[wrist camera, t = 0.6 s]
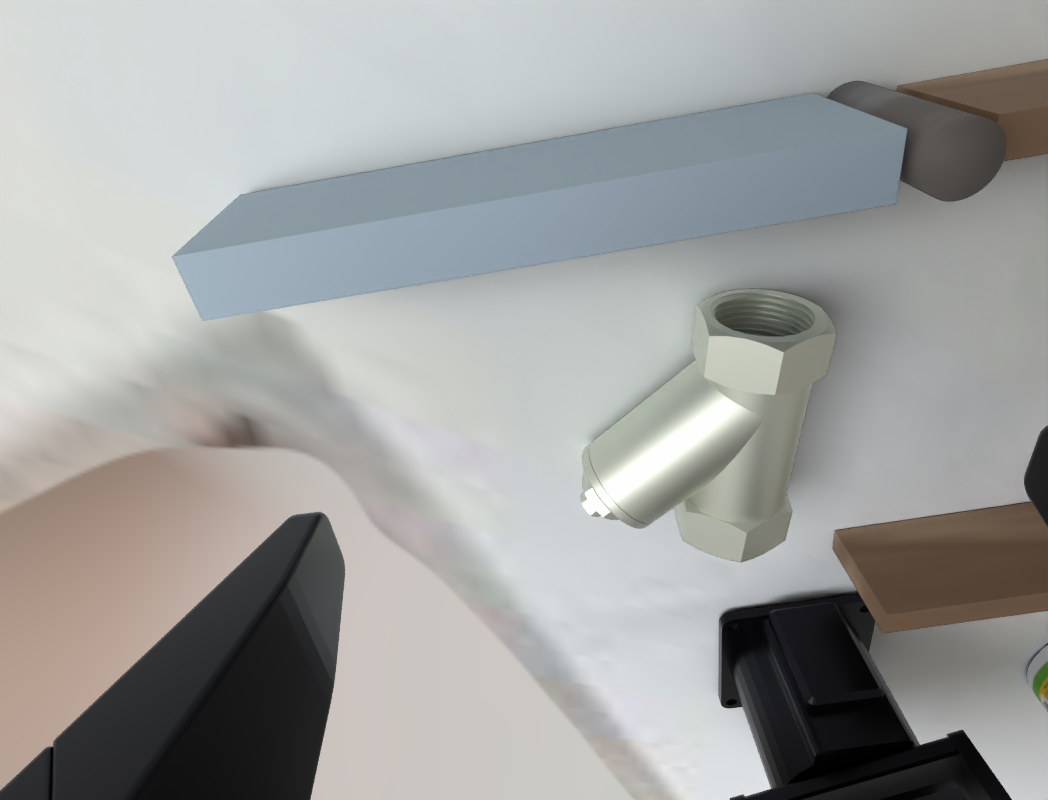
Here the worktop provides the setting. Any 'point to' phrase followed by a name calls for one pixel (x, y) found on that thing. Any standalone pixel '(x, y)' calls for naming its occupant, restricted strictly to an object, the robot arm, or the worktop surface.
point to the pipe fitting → (719, 428)
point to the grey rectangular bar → (542, 203)
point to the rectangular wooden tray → (980, 535)
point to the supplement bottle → (1039, 676)
